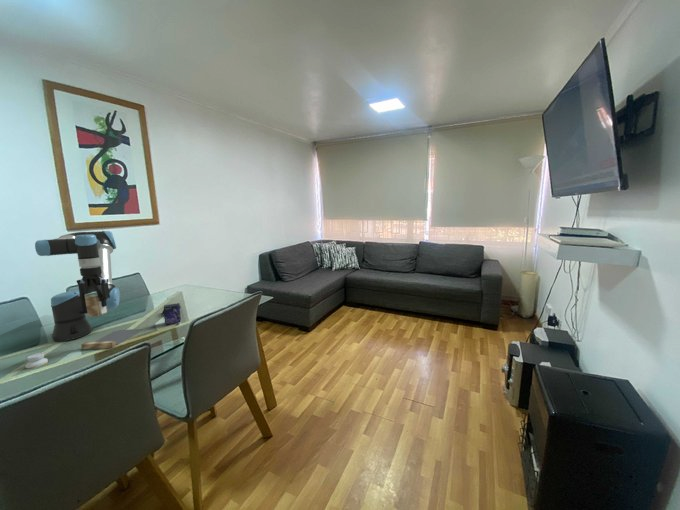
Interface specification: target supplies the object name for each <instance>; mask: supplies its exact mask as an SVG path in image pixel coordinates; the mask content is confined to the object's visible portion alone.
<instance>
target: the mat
mask: <svg viewBox="0 0 680 510" xmlns="http://www.w3.org/2000/svg"><path fill="white" fill-rule="evenodd" d="M117 330H118V331H115V330H114V331H112V332H110V333H108V334H106V335H104V336H102V337H101V338H98V339H97V340H95V341H94V342H105V341H115V343H116V346H118V345H120V344H121V343H123V342H125V341H126V340H128V339H129V338H131V337H133V336H134V335H136V334H138V333H139V332H141V331H142V330H143V329H142V328H135V329H134V328H133V329H131V328H130V329H117Z"/></svg>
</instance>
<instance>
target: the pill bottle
mask: <svg viewBox="0 0 680 510" xmlns="http://www.w3.org/2000/svg"><path fill="white" fill-rule="evenodd" d="M26 360H27V361H28V362H27V363H26V364H25V369H27V370H29V369H35V368H39V367H42V366H44V365H46V364H48V362H49V359H48V358H47V357H45V355H44V353H43V352H37V353H33V354H30V355H28V356H27V358H26Z"/></svg>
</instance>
